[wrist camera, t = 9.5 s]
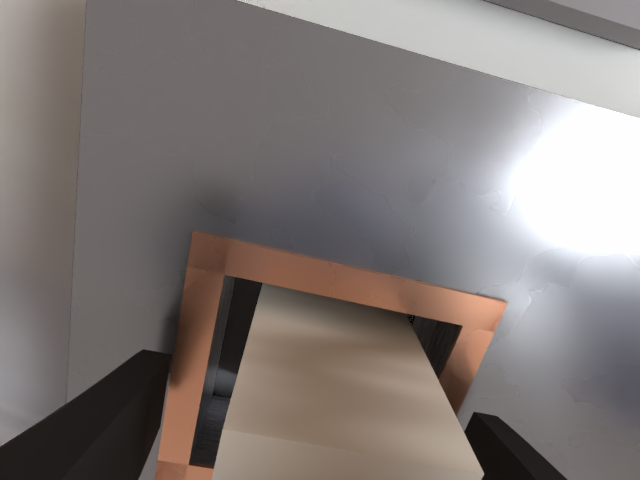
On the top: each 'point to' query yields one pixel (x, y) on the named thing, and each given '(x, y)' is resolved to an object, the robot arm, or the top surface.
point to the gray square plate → (587, 16)
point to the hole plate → (353, 220)
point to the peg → (338, 398)
